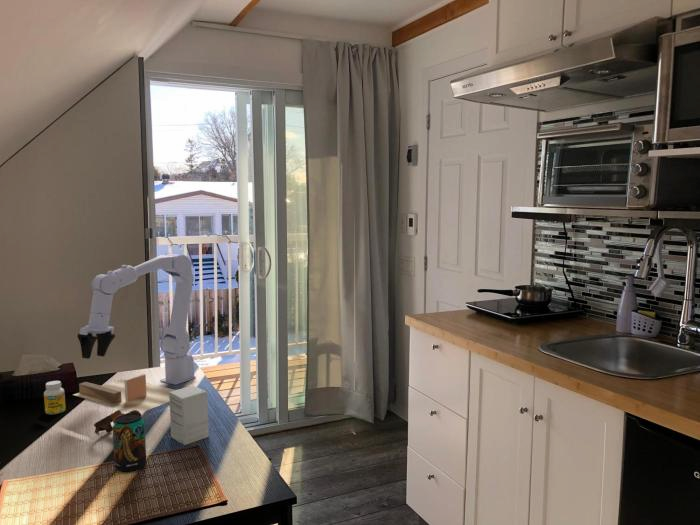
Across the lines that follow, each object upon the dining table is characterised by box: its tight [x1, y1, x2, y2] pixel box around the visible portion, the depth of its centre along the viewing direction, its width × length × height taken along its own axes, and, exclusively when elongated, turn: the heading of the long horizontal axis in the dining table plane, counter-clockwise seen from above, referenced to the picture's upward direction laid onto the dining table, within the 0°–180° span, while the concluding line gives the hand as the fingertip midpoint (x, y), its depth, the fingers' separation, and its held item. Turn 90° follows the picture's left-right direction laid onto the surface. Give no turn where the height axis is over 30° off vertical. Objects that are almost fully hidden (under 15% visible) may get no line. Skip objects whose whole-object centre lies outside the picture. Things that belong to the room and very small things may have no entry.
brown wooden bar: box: [78, 381, 122, 404], centre depth 180 cm, size 2×18×3 cm, turn 58°
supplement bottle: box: [43, 380, 66, 415], centre depth 168 cm, size 5×5×10 cm
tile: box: [124, 373, 147, 402], centre depth 178 cm, size 7×1×7 cm, turn 148°
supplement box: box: [168, 385, 210, 446], centre depth 151 cm, size 7×7×13 cm
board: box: [72, 377, 176, 416], centre depth 183 cm, size 20×32×1 cm, turn 58°
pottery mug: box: [93, 409, 143, 435], centre depth 153 cm, size 12×10×8 cm
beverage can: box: [112, 413, 148, 474], centre depth 134 cm, size 7×7×12 cm
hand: (93, 357), depth 176 cm, fingers open, 7 cm apart
